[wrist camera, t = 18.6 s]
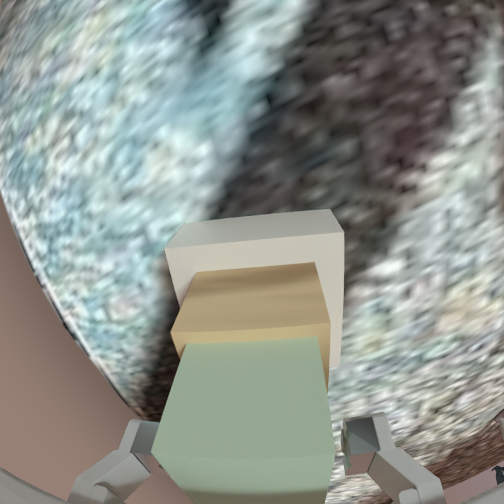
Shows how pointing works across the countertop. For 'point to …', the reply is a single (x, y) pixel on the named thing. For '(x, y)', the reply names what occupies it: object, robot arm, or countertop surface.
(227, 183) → the countertop surface
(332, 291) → the pedestal
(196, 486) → the green cube
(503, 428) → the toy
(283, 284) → the oak block
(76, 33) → the countertop surface
